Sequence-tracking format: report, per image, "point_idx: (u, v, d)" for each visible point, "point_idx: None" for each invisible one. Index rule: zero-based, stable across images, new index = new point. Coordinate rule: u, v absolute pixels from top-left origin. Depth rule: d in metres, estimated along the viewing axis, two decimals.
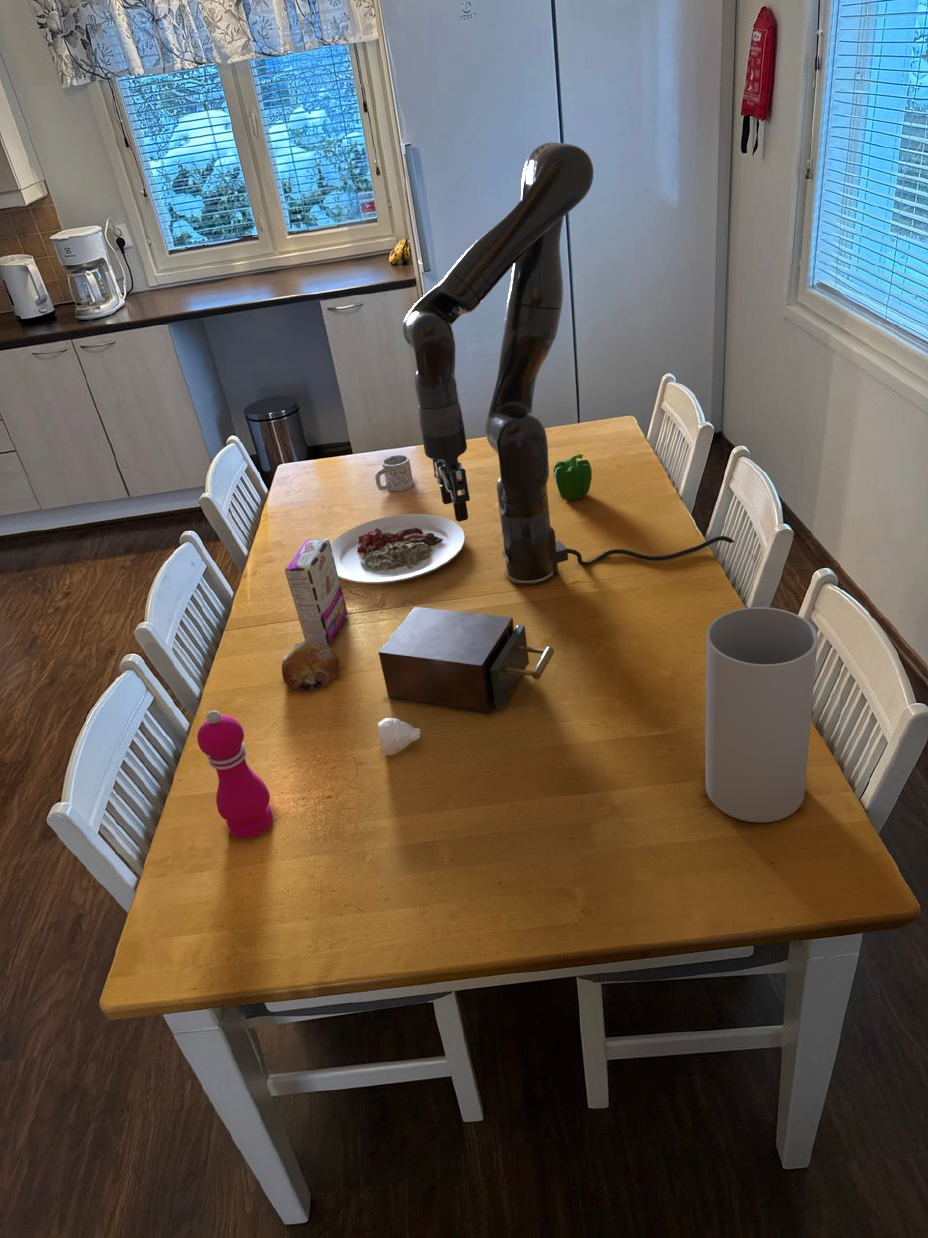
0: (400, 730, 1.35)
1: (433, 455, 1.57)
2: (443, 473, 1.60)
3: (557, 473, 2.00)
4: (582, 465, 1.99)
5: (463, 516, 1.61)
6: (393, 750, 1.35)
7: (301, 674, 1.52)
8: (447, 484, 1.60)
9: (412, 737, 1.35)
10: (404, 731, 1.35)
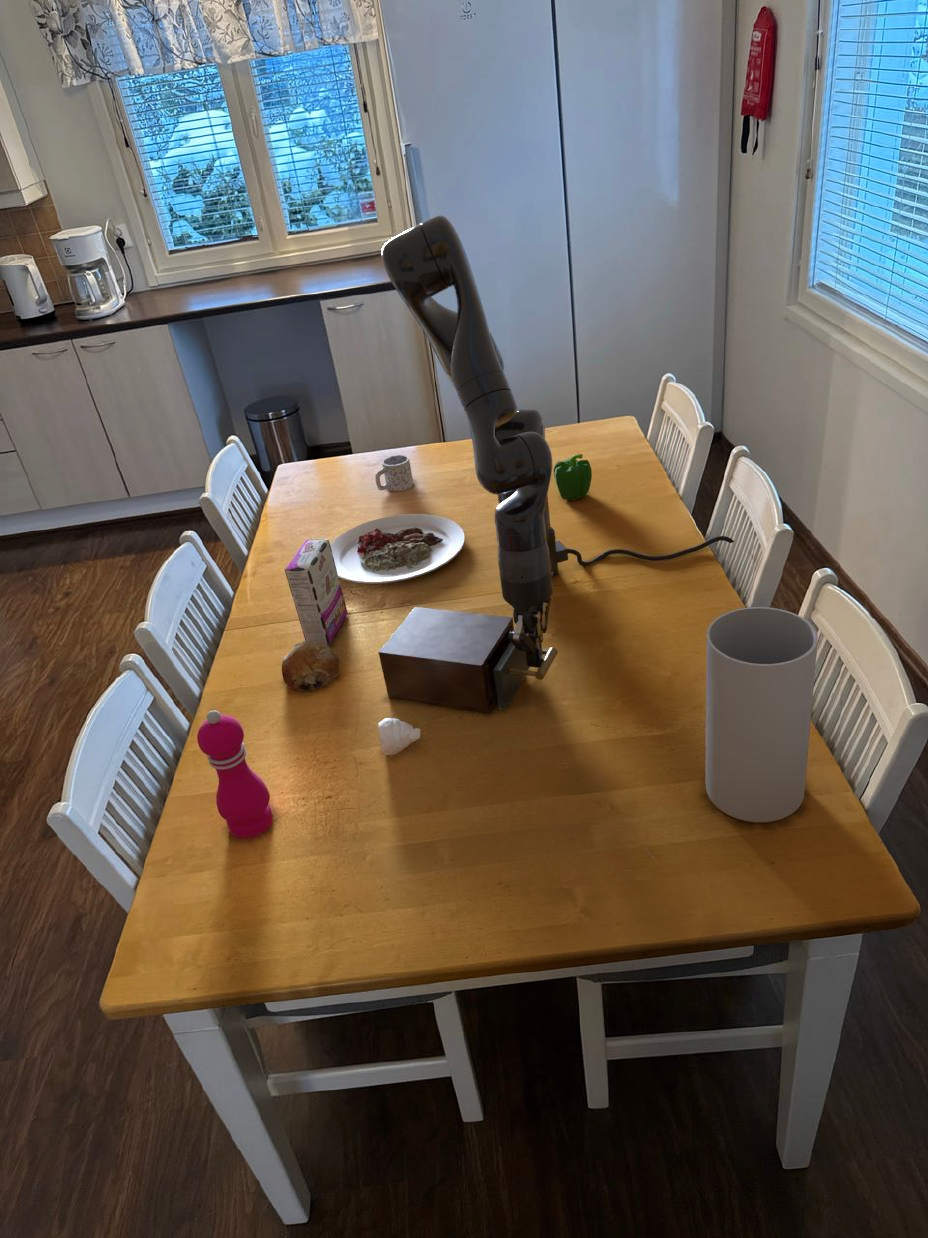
0: (400, 730, 1.35)
1: (503, 596, 1.34)
2: None
3: (557, 473, 2.00)
4: (582, 465, 1.99)
5: (532, 663, 1.40)
6: (393, 750, 1.35)
7: (301, 674, 1.52)
8: None
9: (412, 737, 1.35)
10: (404, 731, 1.35)
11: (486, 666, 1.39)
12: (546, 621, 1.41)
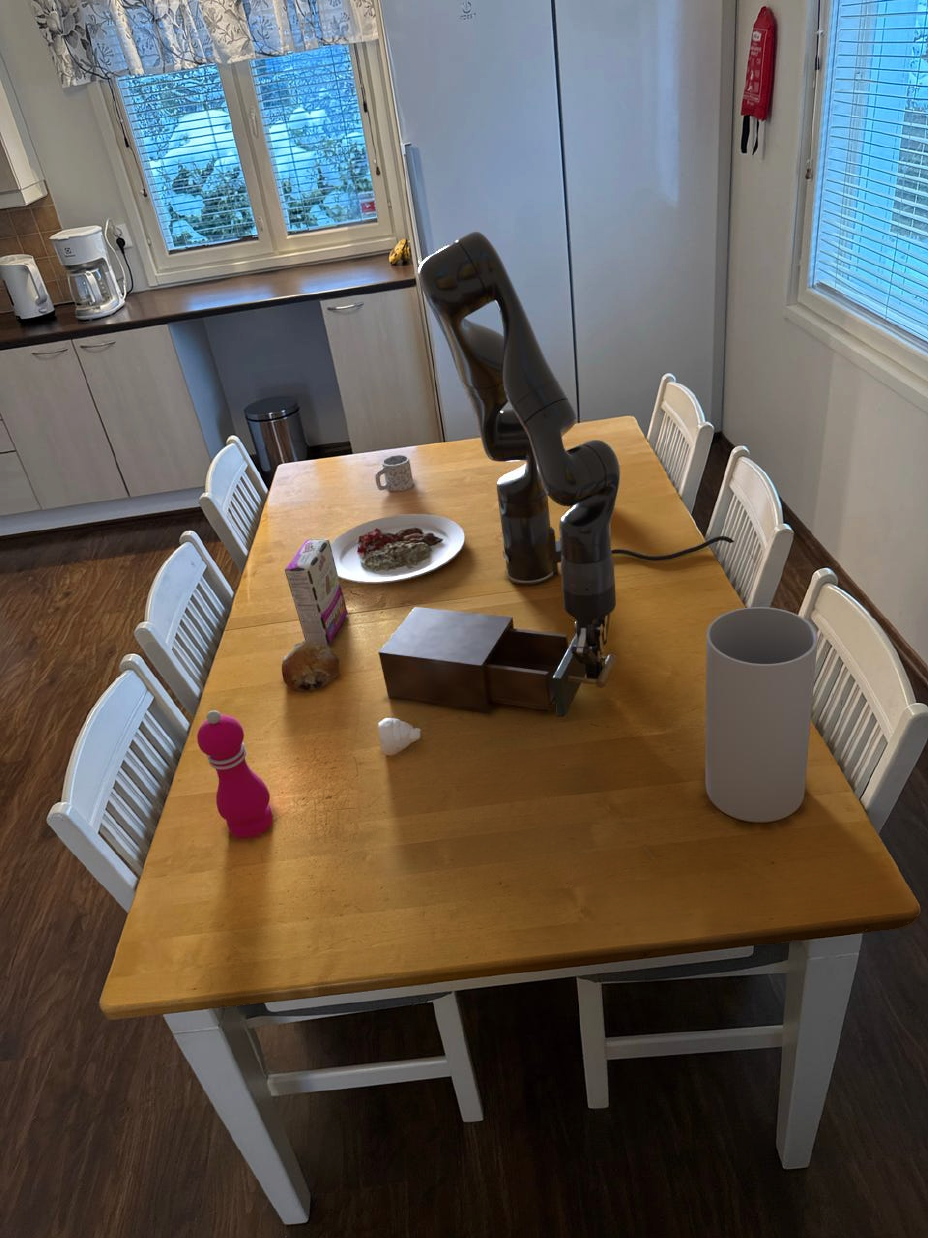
0: (400, 730, 1.35)
1: (565, 608, 1.31)
2: None
3: None
4: None
5: (592, 676, 1.37)
6: (393, 750, 1.35)
7: (301, 674, 1.52)
8: None
9: (412, 737, 1.35)
10: (404, 731, 1.35)
11: (545, 674, 1.36)
12: (606, 633, 1.38)
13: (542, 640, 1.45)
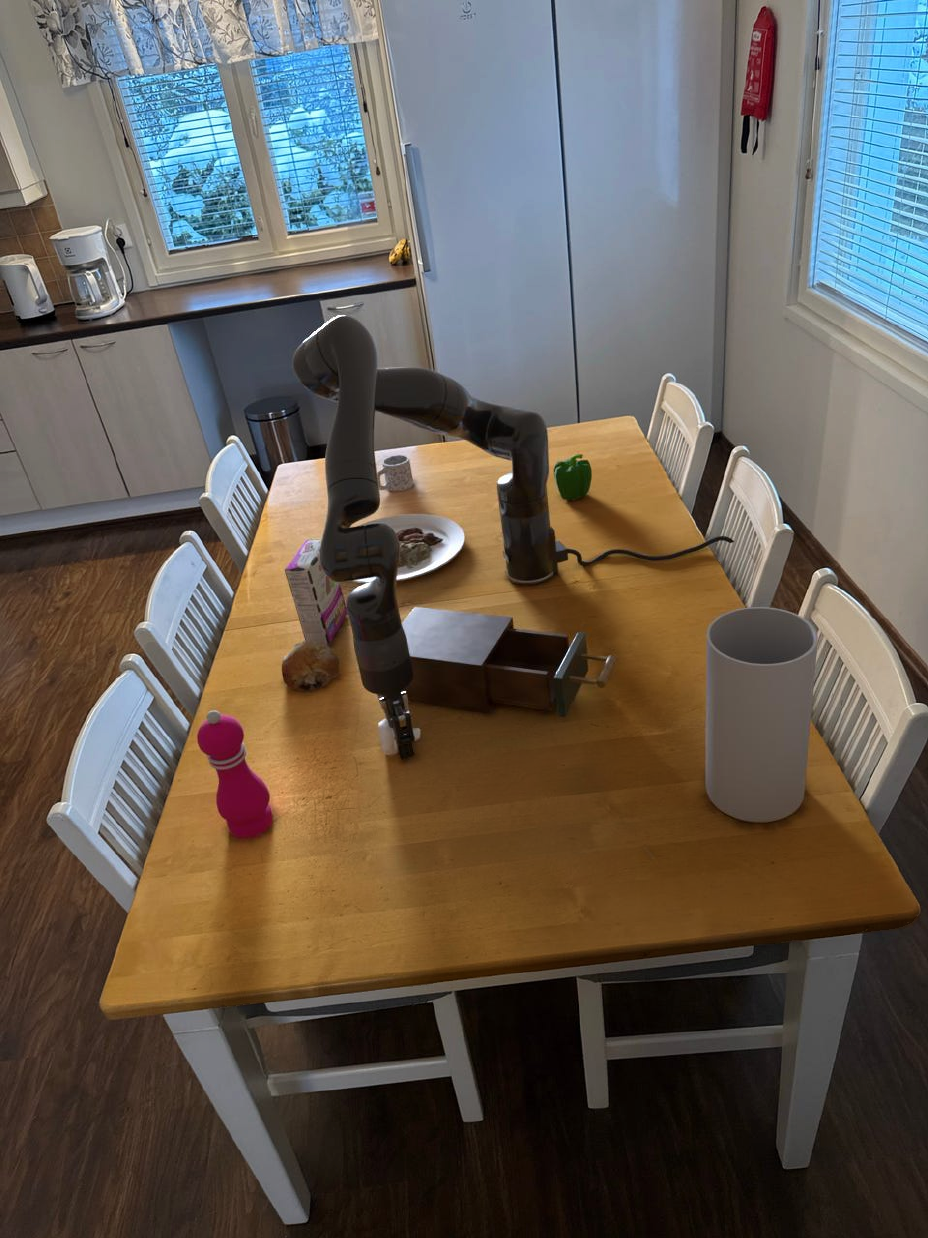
0: None
1: (371, 690, 1.29)
2: (384, 708, 1.31)
3: (557, 473, 2.00)
4: (582, 465, 1.99)
5: (408, 755, 1.34)
6: (393, 750, 1.35)
7: (301, 674, 1.52)
8: (389, 721, 1.32)
9: None
10: None
11: (546, 674, 1.36)
12: None
13: (543, 640, 1.45)
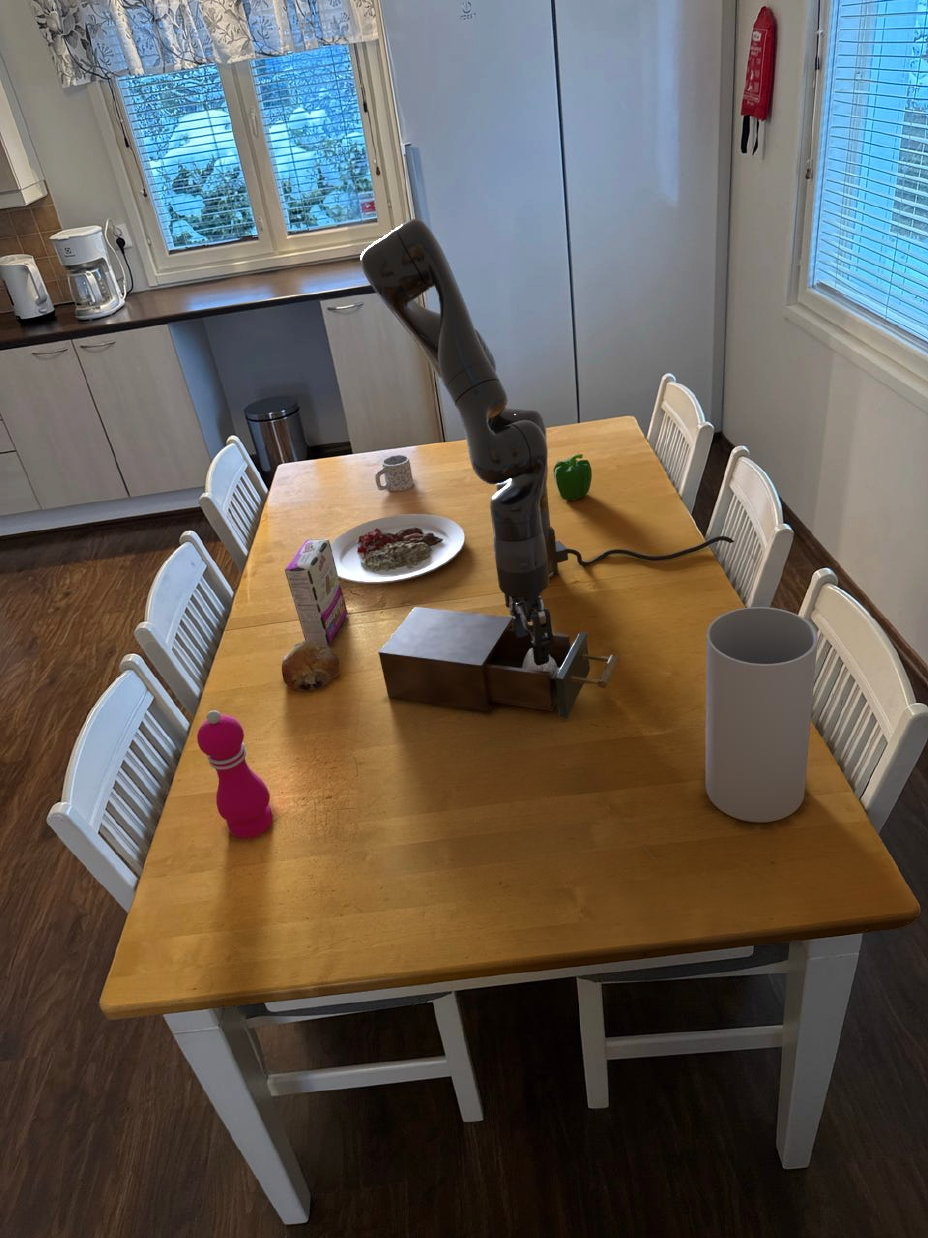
0: (550, 664, 1.41)
1: (510, 592, 1.32)
2: (521, 611, 1.34)
3: (557, 473, 2.00)
4: (582, 465, 1.99)
5: (544, 660, 1.36)
6: None
7: (301, 674, 1.52)
8: (526, 624, 1.34)
9: (556, 675, 1.42)
10: (553, 666, 1.41)
11: (547, 674, 1.36)
12: None
13: None
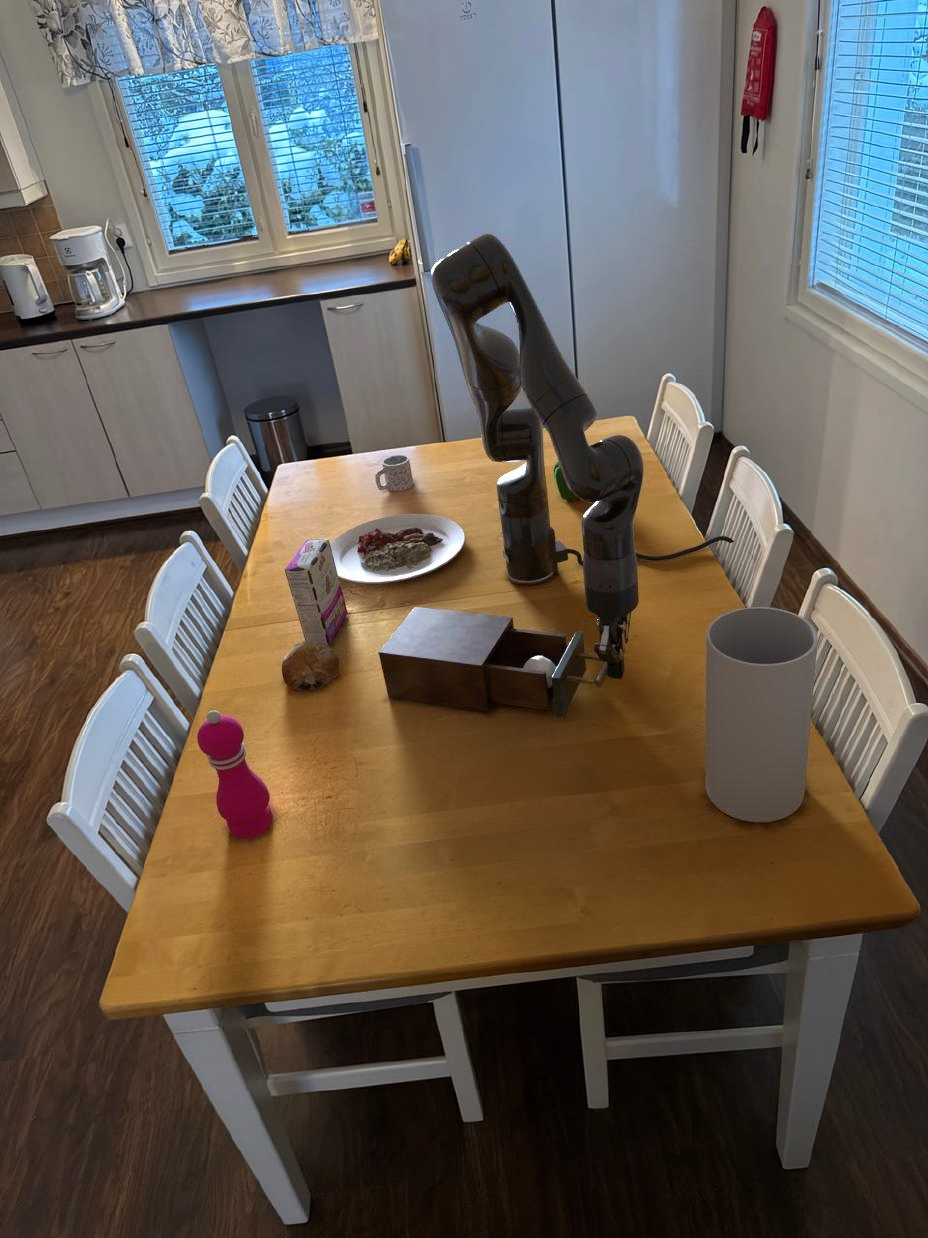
0: None
1: (587, 606, 1.30)
2: None
3: (557, 473, 2.00)
4: None
5: (614, 675, 1.36)
6: None
7: (301, 674, 1.52)
8: (601, 641, 1.33)
9: None
10: None
11: (543, 674, 1.36)
12: (628, 631, 1.36)
13: (541, 640, 1.45)
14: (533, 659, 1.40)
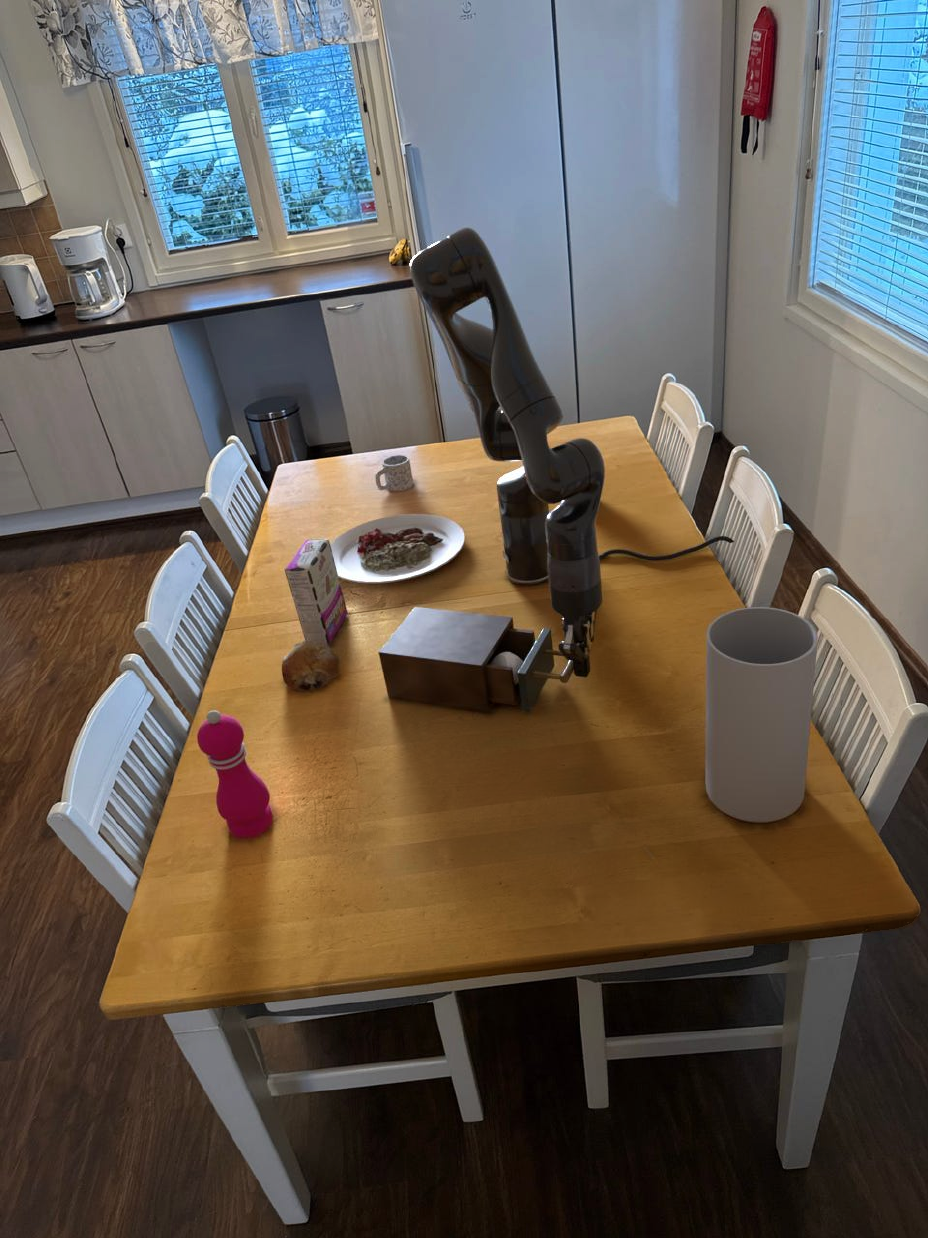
0: None
1: (552, 605, 1.32)
2: None
3: None
4: None
5: (580, 673, 1.38)
6: None
7: (301, 674, 1.52)
8: None
9: None
10: None
11: (510, 669, 1.38)
12: (593, 630, 1.39)
13: (509, 636, 1.48)
14: (500, 655, 1.42)
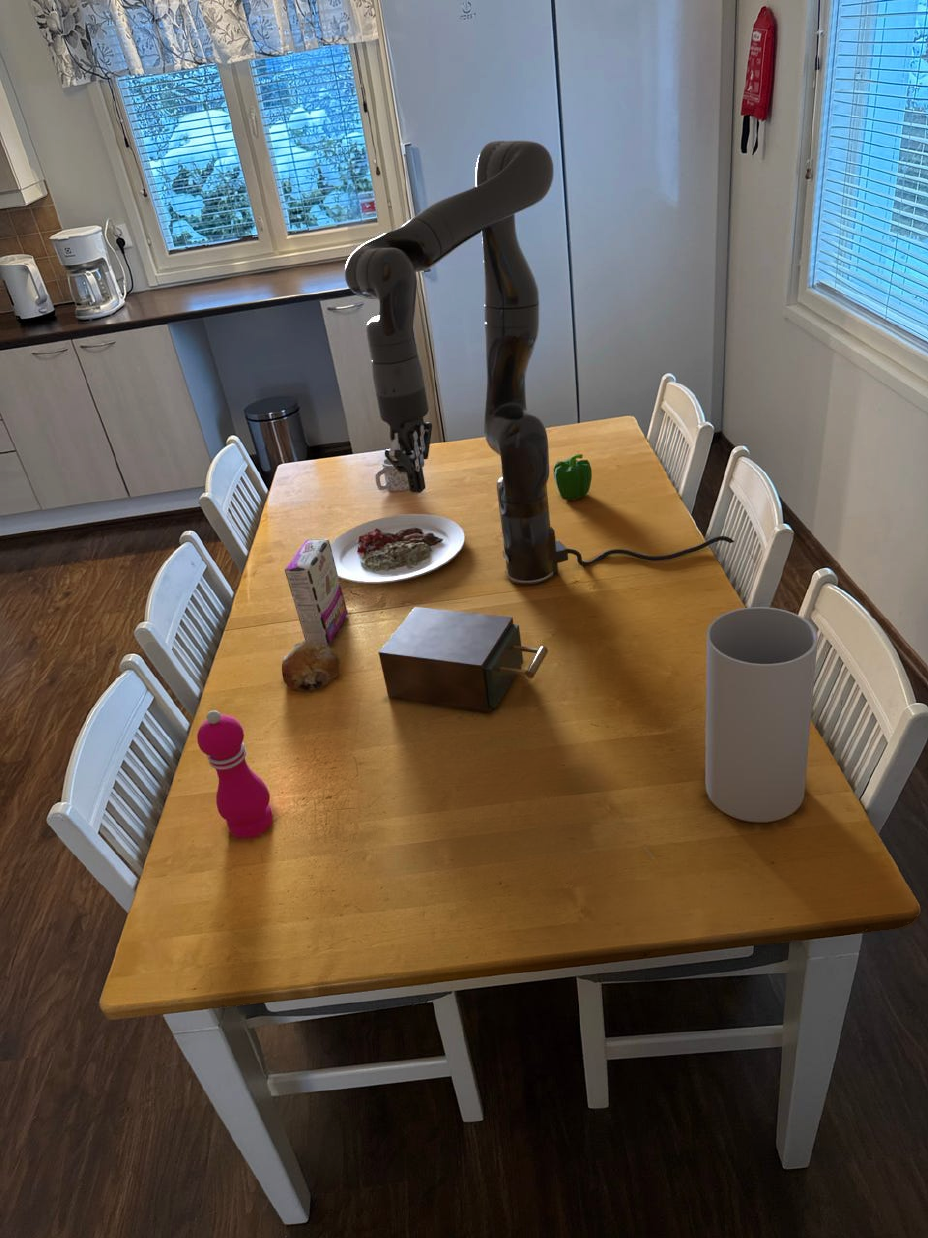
0: None
1: (380, 415, 1.39)
2: None
3: (557, 473, 2.00)
4: (582, 465, 1.99)
5: (413, 488, 1.45)
6: None
7: (301, 674, 1.52)
8: None
9: None
10: None
11: None
12: (427, 447, 1.46)
13: None
14: None
